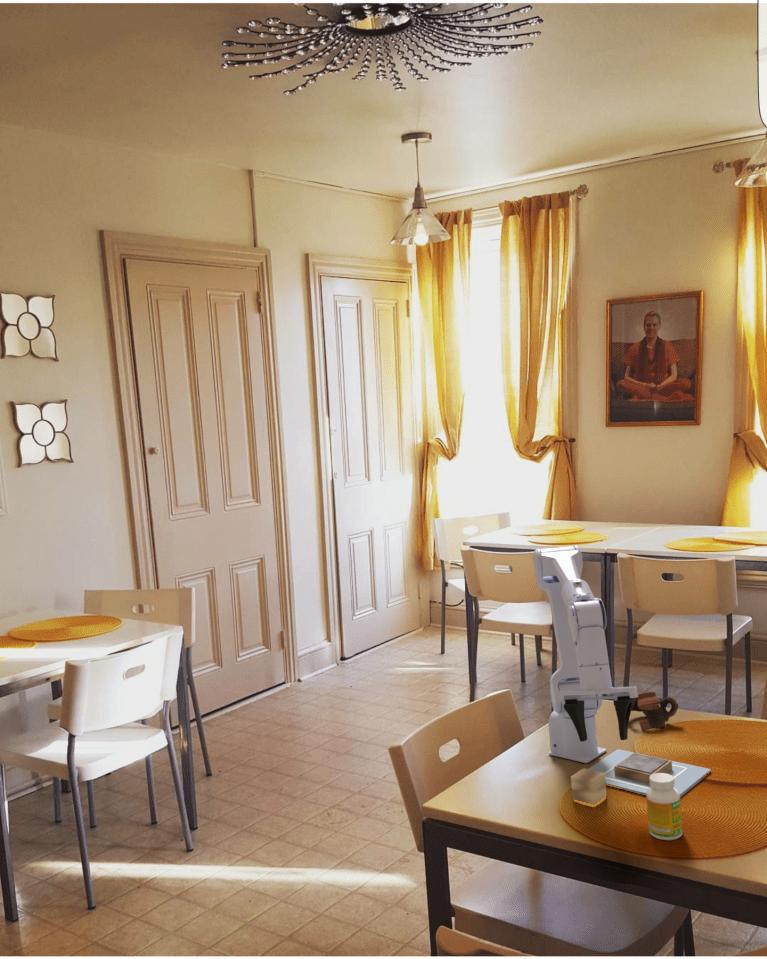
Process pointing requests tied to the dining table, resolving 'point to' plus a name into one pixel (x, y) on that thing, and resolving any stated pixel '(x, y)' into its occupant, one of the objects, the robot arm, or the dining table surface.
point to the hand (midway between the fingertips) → (603, 740)
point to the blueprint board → (646, 771)
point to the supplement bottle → (664, 807)
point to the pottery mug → (654, 710)
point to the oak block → (588, 786)
